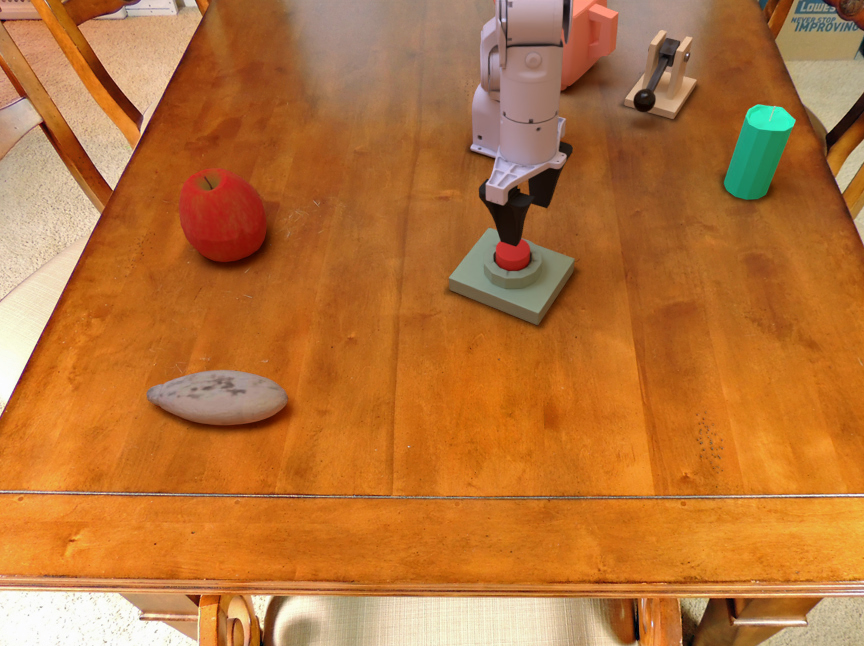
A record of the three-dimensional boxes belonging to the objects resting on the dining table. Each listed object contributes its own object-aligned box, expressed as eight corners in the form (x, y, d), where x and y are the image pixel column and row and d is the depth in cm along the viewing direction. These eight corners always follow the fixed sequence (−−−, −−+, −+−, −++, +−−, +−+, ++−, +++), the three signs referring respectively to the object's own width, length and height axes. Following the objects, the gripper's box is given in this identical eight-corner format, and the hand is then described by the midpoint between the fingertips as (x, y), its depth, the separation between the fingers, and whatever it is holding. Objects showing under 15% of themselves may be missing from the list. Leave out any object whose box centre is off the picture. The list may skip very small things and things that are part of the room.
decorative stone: (161, 380, 76) (148, 362, 73) (299, 383, 75) (291, 365, 72) (143, 427, 72) (129, 410, 69) (287, 431, 72) (279, 413, 69)
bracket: (673, 119, 103) (686, 63, 96) (623, 105, 105) (632, 50, 98) (695, 86, 108) (709, 31, 101) (647, 73, 110) (657, 18, 103)
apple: (256, 206, 93) (231, 139, 84) (286, 249, 88) (264, 183, 79) (182, 235, 89) (149, 169, 81) (210, 282, 84) (178, 217, 76)
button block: (449, 290, 83) (447, 266, 80) (488, 239, 88) (488, 215, 85) (537, 325, 79) (539, 302, 76) (573, 271, 84) (576, 247, 81)
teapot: (470, 66, 112) (467, -25, 101) (511, 33, 118) (513, -57, 107) (587, 108, 105) (598, 14, 93) (625, 70, 111) (640, -22, 99)
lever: (650, 119, 100) (651, 104, 97) (629, 113, 101) (629, 98, 98) (682, 55, 102) (684, 39, 99) (661, 50, 103) (663, 34, 100)
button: (489, 264, 80) (489, 253, 79) (505, 243, 82) (505, 232, 81) (519, 276, 79) (520, 265, 78) (535, 254, 81) (535, 243, 80)
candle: (769, 202, 91) (801, 123, 82) (723, 197, 92) (750, 117, 82) (767, 174, 95) (798, 95, 85) (723, 169, 96) (749, 90, 86)
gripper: (533, 156, 61) (528, 272, 71) (597, 84, 69) (584, 198, 79) (465, 136, 63) (469, 251, 73) (534, 69, 71) (529, 182, 81)
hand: (525, 222), depth 76 cm, fingers open, 7 cm apart
